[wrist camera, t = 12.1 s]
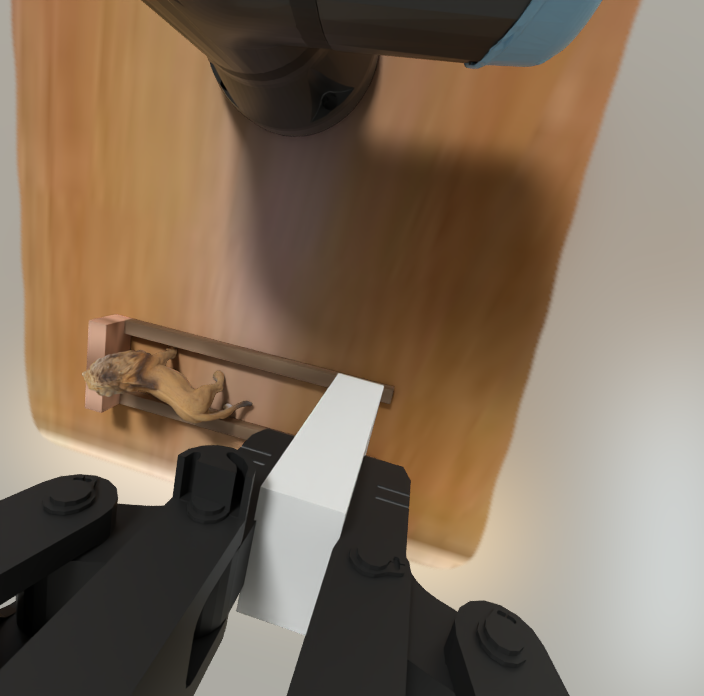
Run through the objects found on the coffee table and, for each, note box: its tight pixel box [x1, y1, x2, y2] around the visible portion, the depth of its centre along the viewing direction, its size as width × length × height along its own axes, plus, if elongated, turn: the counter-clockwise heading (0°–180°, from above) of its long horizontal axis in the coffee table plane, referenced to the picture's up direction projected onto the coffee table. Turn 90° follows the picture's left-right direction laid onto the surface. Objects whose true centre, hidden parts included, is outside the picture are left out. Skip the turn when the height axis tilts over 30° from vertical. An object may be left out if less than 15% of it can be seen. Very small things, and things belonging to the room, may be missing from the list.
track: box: [85, 314, 394, 459], centre depth 45 cm, size 10×32×4 cm, turn 78°
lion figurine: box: [82, 346, 252, 424], centre depth 43 cm, size 15×5×9 cm, turn 70°
